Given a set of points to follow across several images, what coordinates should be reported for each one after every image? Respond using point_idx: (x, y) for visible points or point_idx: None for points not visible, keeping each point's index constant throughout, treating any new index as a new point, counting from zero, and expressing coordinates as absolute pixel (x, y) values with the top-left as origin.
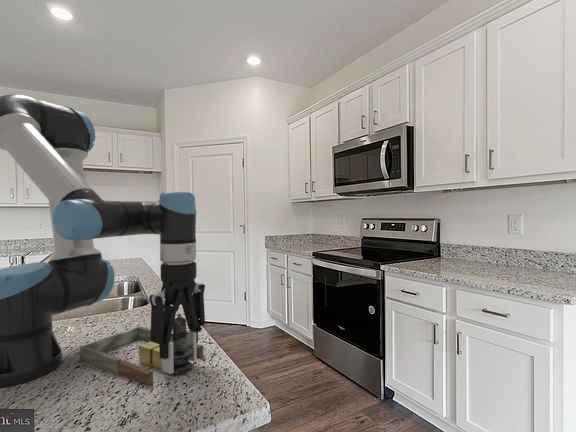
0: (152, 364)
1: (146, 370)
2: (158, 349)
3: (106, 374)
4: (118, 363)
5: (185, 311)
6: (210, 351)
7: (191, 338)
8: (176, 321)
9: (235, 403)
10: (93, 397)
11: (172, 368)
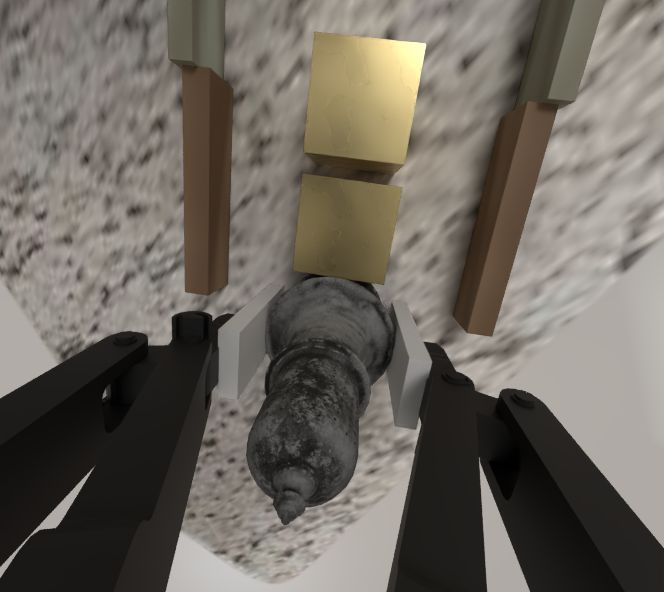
0: (328, 165)
1: (198, 267)
2: (315, 208)
3: None
4: (184, 67)
5: (406, 507)
6: (527, 319)
7: (395, 385)
8: (250, 470)
9: (258, 536)
10: (72, 161)
11: None
